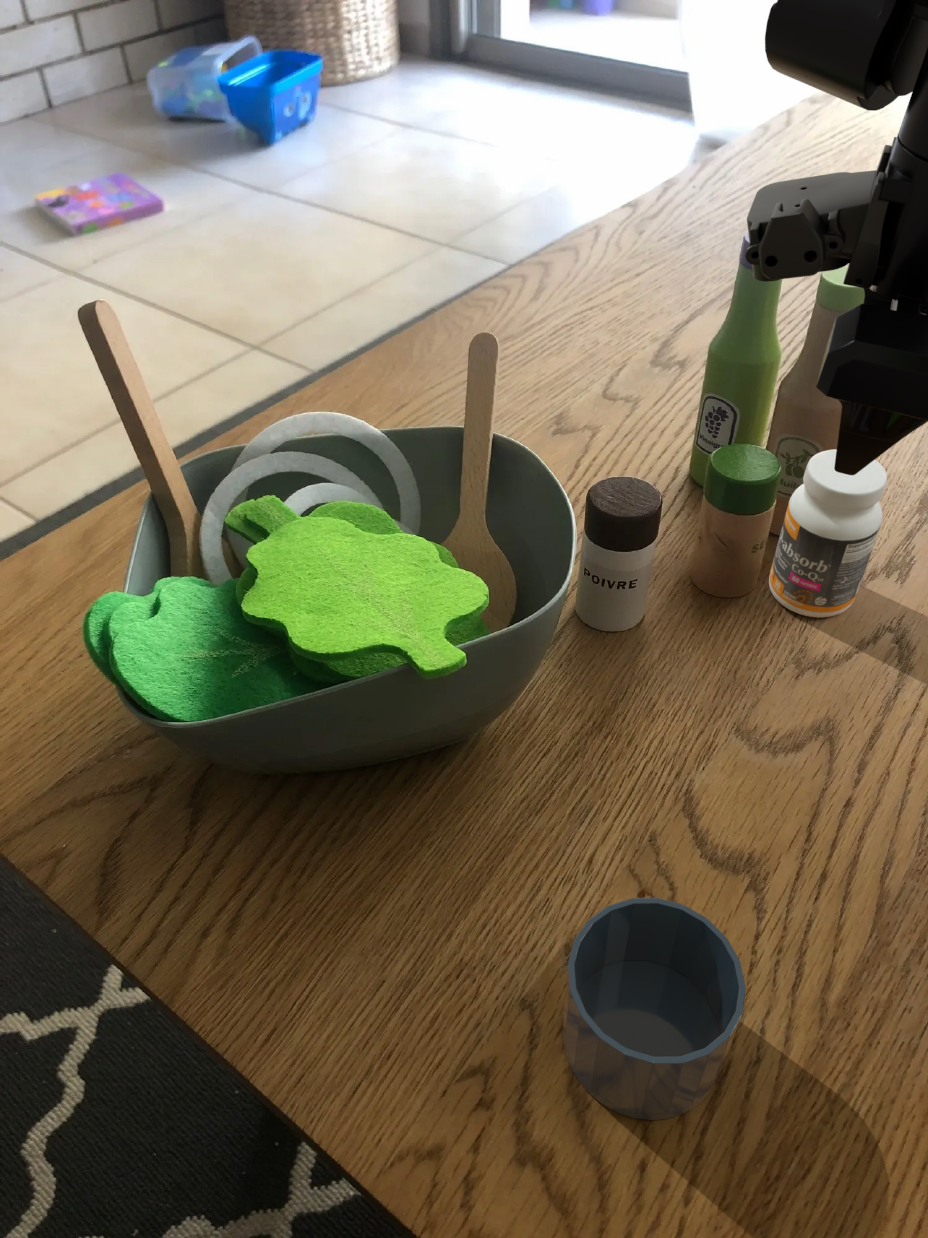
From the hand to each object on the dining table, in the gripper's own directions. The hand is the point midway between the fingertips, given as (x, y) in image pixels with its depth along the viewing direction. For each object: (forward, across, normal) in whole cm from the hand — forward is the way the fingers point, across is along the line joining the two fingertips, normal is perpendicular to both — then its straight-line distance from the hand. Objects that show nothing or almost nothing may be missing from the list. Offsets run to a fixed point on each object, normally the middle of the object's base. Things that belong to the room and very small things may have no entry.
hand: (853, 423), depth 57 cm
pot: (+12, +33, -2) cm, 35 cm away
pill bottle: (+14, 0, +2) cm, 14 cm away
